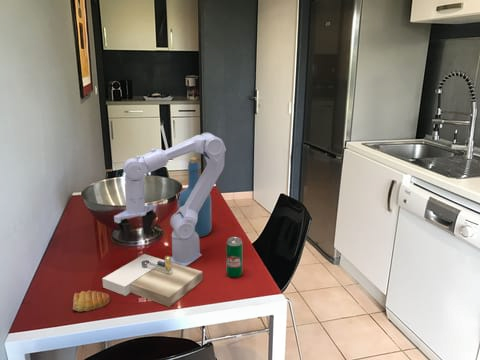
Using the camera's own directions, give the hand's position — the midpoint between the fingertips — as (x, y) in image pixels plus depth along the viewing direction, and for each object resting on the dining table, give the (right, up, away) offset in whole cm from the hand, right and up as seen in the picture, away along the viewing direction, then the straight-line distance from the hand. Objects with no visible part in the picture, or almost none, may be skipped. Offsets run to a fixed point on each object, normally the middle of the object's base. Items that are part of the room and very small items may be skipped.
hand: (136, 237), depth 126 cm
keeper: (+9, -9, -4) cm, 13 cm away
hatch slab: (+11, -13, -8) cm, 19 cm away
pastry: (-9, -16, -17) cm, 25 cm away
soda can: (+31, -12, -1) cm, 33 cm away
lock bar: (+7, -9, -5) cm, 12 cm away
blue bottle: (+15, -2, +31) cm, 34 cm away
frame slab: (+1, -12, -4) cm, 12 cm away
